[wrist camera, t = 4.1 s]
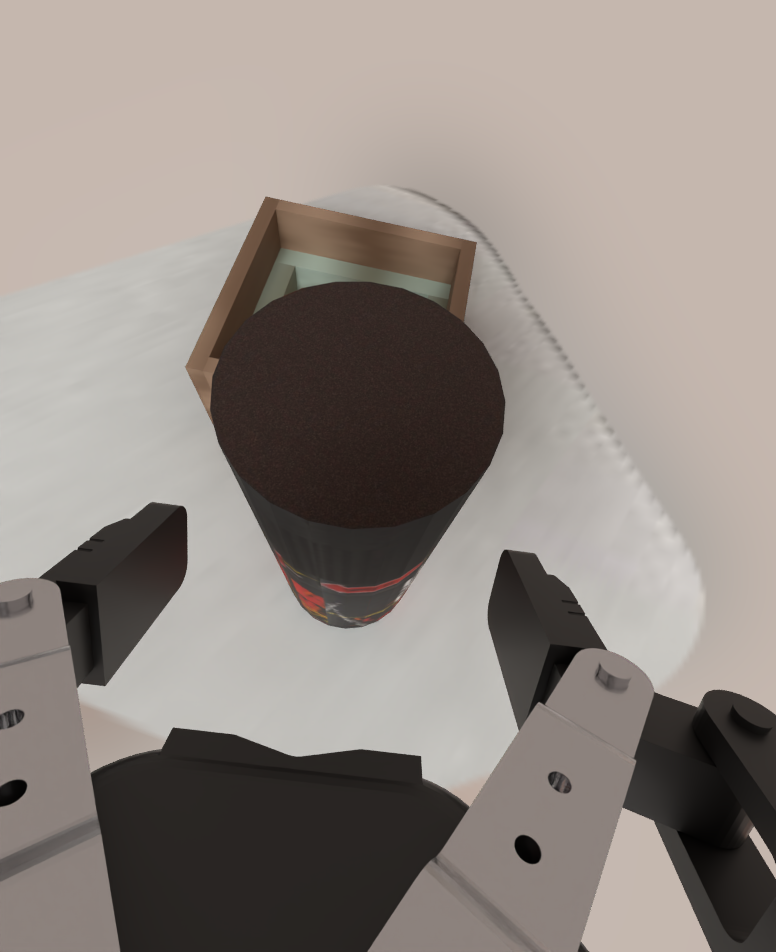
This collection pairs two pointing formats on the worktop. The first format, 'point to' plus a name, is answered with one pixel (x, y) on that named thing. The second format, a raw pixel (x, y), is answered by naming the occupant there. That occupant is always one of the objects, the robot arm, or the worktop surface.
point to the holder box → (326, 269)
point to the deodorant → (355, 437)
